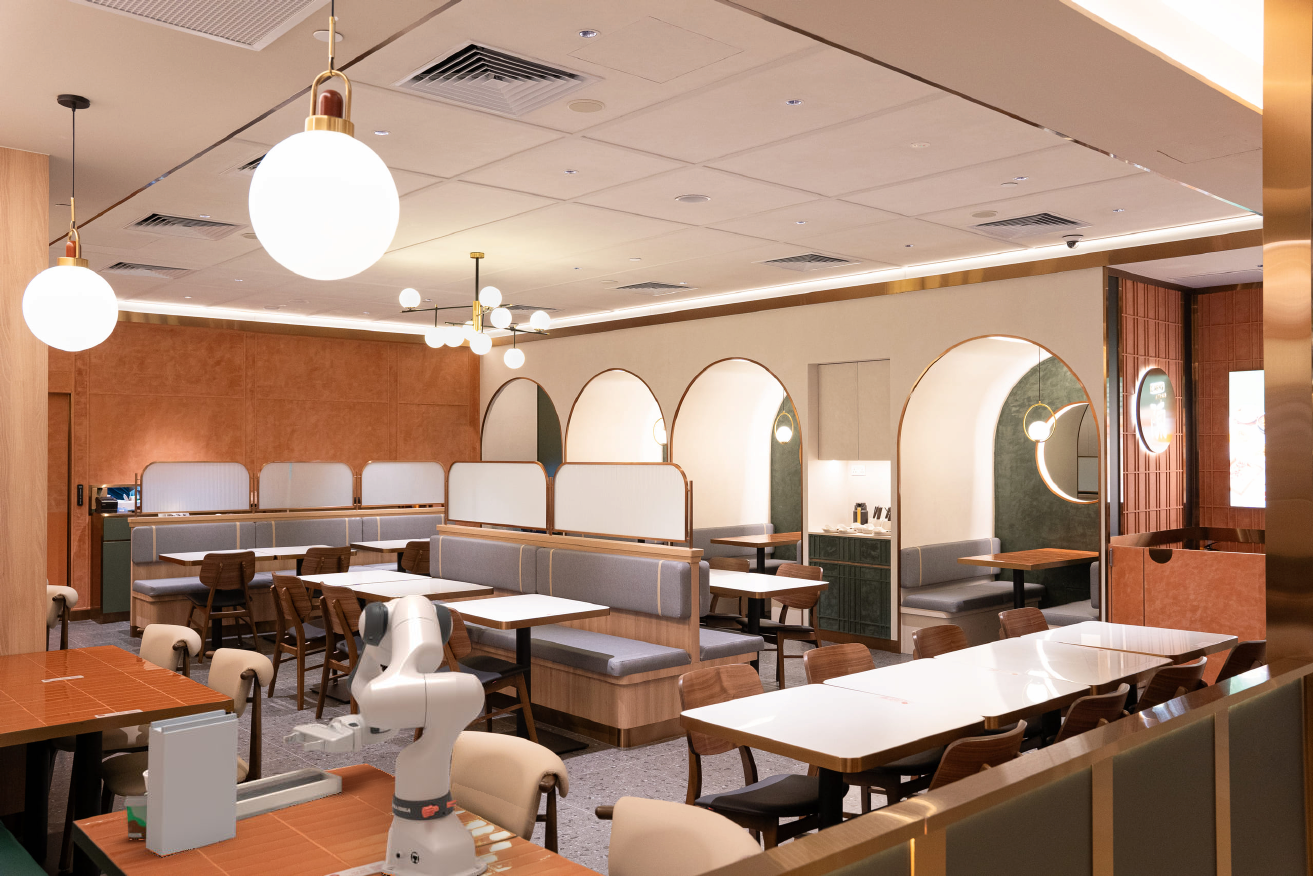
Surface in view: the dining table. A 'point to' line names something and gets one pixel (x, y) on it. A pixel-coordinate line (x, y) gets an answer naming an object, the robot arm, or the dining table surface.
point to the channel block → (191, 781)
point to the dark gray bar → (278, 785)
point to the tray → (287, 793)
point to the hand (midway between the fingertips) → (294, 744)
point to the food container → (137, 816)
